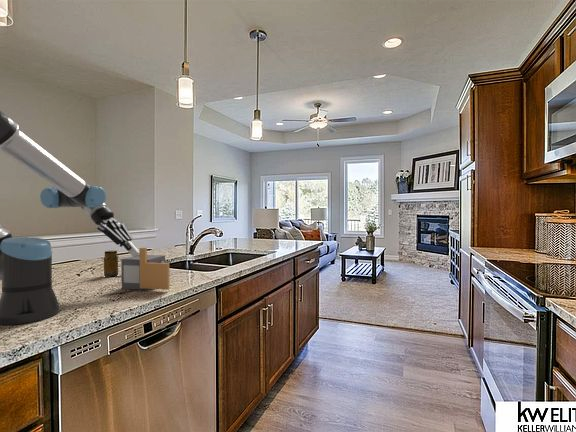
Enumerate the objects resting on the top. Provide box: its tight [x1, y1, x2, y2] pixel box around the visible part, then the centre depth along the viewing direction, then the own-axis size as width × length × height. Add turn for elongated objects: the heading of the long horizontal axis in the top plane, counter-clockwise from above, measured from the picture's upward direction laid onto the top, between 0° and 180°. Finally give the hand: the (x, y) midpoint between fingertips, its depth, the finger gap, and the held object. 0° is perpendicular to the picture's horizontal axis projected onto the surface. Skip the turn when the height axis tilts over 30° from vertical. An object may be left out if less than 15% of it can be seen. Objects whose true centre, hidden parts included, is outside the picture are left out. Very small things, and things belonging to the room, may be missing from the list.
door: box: [138, 247, 170, 290], centre depth 124 cm, size 1×12×16 cm, turn 79°
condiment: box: [103, 250, 122, 278], centre depth 152 cm, size 7×8×12 cm
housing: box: [120, 254, 168, 291], centre depth 132 cm, size 12×14×13 cm
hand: (137, 255), depth 125 cm, fingers closed
